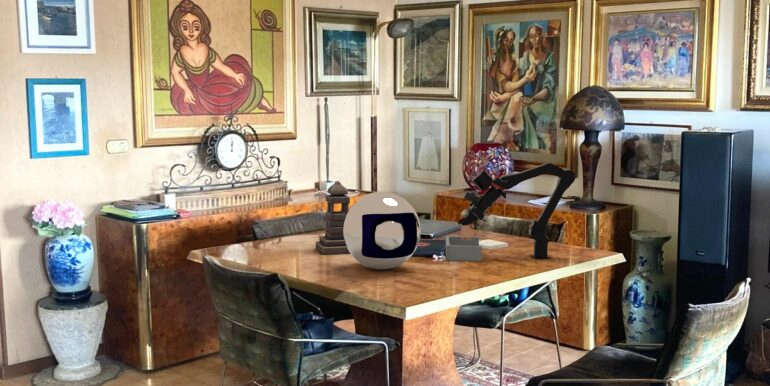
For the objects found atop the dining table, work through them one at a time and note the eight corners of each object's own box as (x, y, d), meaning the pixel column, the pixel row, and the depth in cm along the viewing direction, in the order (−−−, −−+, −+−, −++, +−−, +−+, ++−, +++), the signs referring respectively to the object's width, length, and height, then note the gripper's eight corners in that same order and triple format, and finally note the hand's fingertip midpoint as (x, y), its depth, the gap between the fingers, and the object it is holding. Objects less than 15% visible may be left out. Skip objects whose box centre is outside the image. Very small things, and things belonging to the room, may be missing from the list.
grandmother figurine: (474, 239, 375) (474, 209, 374) (474, 240, 371) (474, 210, 370) (455, 238, 376) (456, 208, 374) (455, 240, 372) (456, 210, 371)
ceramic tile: (508, 246, 395) (508, 243, 395) (488, 249, 388) (488, 246, 388) (488, 242, 405) (488, 239, 404) (469, 245, 397) (469, 242, 397)
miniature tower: (322, 255, 371) (322, 183, 367) (315, 248, 385) (315, 179, 382) (360, 253, 376) (360, 182, 372) (351, 247, 390) (352, 178, 386)
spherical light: (353, 279, 327) (354, 197, 324) (335, 263, 355) (335, 188, 352) (430, 275, 336) (431, 195, 332) (406, 259, 364) (407, 186, 360)
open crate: (478, 250, 385) (478, 236, 385) (481, 261, 362) (481, 246, 362) (445, 249, 386) (445, 236, 385) (446, 260, 363) (446, 245, 362)
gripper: (474, 181, 380) (448, 207, 381) (476, 187, 361) (448, 213, 363) (492, 200, 380) (466, 225, 382) (495, 206, 362) (468, 233, 364)
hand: (462, 224), depth 373 cm, fingers closed on grandmother figurine, 2 cm apart
